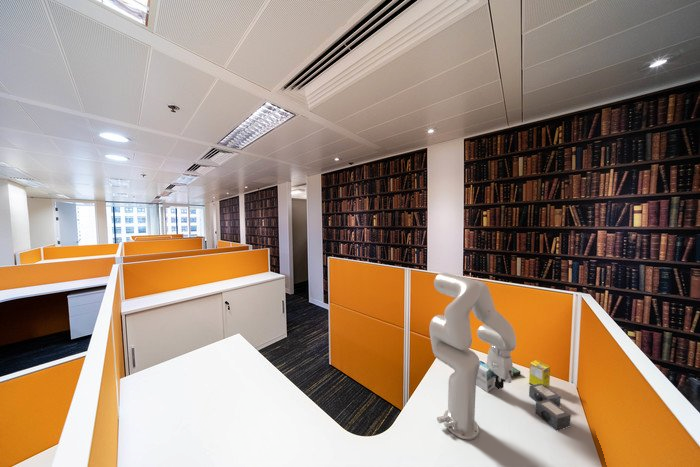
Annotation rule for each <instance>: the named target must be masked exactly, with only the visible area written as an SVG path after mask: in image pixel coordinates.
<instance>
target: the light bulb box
mask: <svg viewBox="0 0 700 467" xmlns="http://www.w3.org/2000/svg"><path fill="white" fill-rule="evenodd" d="M478 358H479V360H480V366H479V370H478V374H477V379H476V386H478V387H479V388H481V389H482V390H484V391H485V392H487V393H488V392H489V391H491V390H492V389H493V388H496V387H495V378H494V374H493V372H492V371H491V370H490V369H489V368H488V367H487V361H485V360H484V359H481V357H478Z"/></svg>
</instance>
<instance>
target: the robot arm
mask: <svg viewBox="0 0 700 467" xmlns="http://www.w3.org/2000/svg"><path fill="white" fill-rule="evenodd" d="M433 286H434V288H435V290H436V291H437V292H438V293H440V294H441V295H446V296H448V297H451V298H454V299H453V300H452V301H451V302H450V303H449V304H448V305H447V306H446V307H445V309H444V310H443V311H444V312H443V314H444V315H443V314H437V315H435V316H433V317H432V318H431V319H430V322H429V328H428V329H429V330H428V331H429V337H430V344H431V348H432V352H433V355H434V357H435V358H436V359H438V361H440V362H441V363H443V364H445V365H447V366H448V367H450V368H451V369H453V371H454V372H452V373H451V374H450V376H449V377H448V392H447V393H448V395H447V396H448V398H447V410H445V412H444V413H443V416H437V417H436V420H437V423H438V424H442V423H443V425H444V427H445V428H446V429H447V430H448V431H449V433H450V432H451V433H452V435H454V436H456V437H458V438H460V439H463V440H473V439H476V438H477V437H478V436H479V433H480V430H479V425H478V423H477V421H476V420H475V419H476V418H475V415H476V413H475V412H476V410H475V409H476V391H477V385H476V379H477V374H478V370H479V366H480V360H479V358H480V357H479V356H478V355H477V354H476V353H475V351H473V350H472V349H471V347H472V343H473V339H472V338H473V337H472V328H471V322H470V314H471V311H472V313H473V315H474V317H475V318H476V319H477V320H479V321H480V323H483V324H482V325H480V326H479V327H478V328H477V329H476V330H477V331H476V336H477V337H478V339H479V340H480V341H482V342H484V343H487V344H489V345H490V347H489V349H488V352H487V356H486V362H487V367H488V368H489V369H490V370H491V371H492V372H493V374H494V378H495V387H494V388H496V389H497V390H501V389H504V385H505V384H504V382H506V383H507V384H511V383H512V378H514V377H513V367H514V365H513V358H512V356H511V352H513V351H514V350H515V349H516V347H517V337H516V333H515V329H514V328H513V326H512V324H511V322H509V321H508V320H507V319H506V318H505V317H504V316H503V315H502V314H501V313H500V312H499V311H497V310H496V307H495V304H494V301H493V297H492V295H491V294H492V293H491V291H490V287H489V286H488V285H487V284H486V283H485V282H483V281H480V280H476V279H471V278H469V277H466V276H465V277H464V276H462V275H461V276H460V275H456V274H452V273H448V272H440V273H438V274H437V275H436V276H435V277H434V280H433Z"/></svg>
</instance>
